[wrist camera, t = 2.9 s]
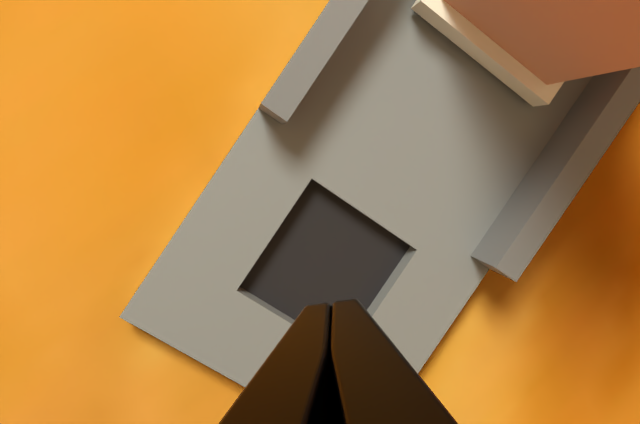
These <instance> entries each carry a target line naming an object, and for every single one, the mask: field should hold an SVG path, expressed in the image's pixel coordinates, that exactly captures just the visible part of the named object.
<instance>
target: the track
mask: <svg viewBox="0 0 640 424" xmlns="http://www.w3.org/2000/svg"><path fill="white" fill-rule="evenodd" d="M415 1H416V0H330V1H329V2H328V4H327V5H326V7H325V8H324V10H323V11H322V13H321V14H320V16H319V17H318V19H317V20H316V22H315V23H314V25H313V26H312V28H311V29H310V31H309V32H308V34H307V35H306V37H305V38H304V40H303V41H302V43H301V44H300V46H299V47H298V49H297V50H296V52H295V53H294V55H293V56H292V58H291V59H290V61H289V62H288V64H287V65H286V67H285V68H284V70H283V71H282V73H281V74H280V76H279V77H278V79H277V80H276V82H275V83H274V85H273V86H272V88H271V89H270V91H269V92H268V94H267V95H266V97H265V98H264V100H263V101H262V103H261V105H260V106H259V108H258V110H257V111H256V113H255V114H254V116H253V117H252V119H251V120H250V122H249V123H248V125H247V126H246V128H245V129H244V131H243V132H242V134H241V135H240V137H239V138H238V140H237V141H236V143H235V144H234V146H233V147H232V149H231V150H230V152H229V153H228V155H227V156H226V158H225V159H224V161H223V162H222V164H221V165H220V167H219V168H218V170H217V171H216V173H215V174H214V176H213V177H212V179H211V180H210V182H209V183H208V185H207V186H206V188H205V189H204V191H203V192H202V194H201V195H200V197H199V198H198V200H197V201H196V203H195V204H194V206H193V207H192V209H191V210H190V212H189V213H188V215H187V216H186V218H185V219H184V221H183V222H182V224H181V225H180V227H179V228H178V230H177V231H176V233H175V234H174V236H173V237H172V239H171V240H170V242H169V243H168V245H167V246H166V248H165V249H164V251H163V252H162V254H161V255H160V257H159V258H158V260H157V261H156V263H155V264H154V266H153V267H152V269H151V270H150V272H149V273H148V275H147V276H146V278H145V279H144V281H143V282H142V284H141V285H140V287H139V288H138V290H137V291H136V293H135V294H134V296H133V297H132V299H131V300H130V302H129V303H128V305H127V306H126V308H125V309H124V311H123V312H122V314H121V315H120V318H122V319H124V320H125V321H127V322H129V323H131V324H133V325H134V326H136V327H138V328H140V329H142V330H143V331H145V332H147V333H149V334H151V335H152V336H154V337H156V338H158V339H159V340H161V341H163V342H165V343H167V344H168V345H170V346H172V347H174V348H176V349H177V350H179V351H181V352H183V353H185V354H186V355H188V356H190V357H192V358H193V359H195V360H197V361H199V362H201V363H202V364H204V365H206V366H208V367H210V368H211V369H213V370H215V371H217V372H219V373H220V374H222V375H224V376H226V377H227V378H229V379H231V380H233V381H235V382H236V383H238V384H240V385H242V386H244V387H246V386H247V384H248V383H249V382H250V380H251V379H252V378H253V376H254V375H255V374H256V372H257V371H258V370H259V368H260V367H261V365H262V364H263V363H264V361H265V360H266V359H267V357H268V356H269V355H270V353H271V352H272V351H273V349H274V348H275V347H276V345H277V344H278V342H279V341H280V340H281V338H282V337H283V336H284V334H285V333H286V332H287V330H288V329H289V328H290V326H291V325H292V323H293V322H294V321H295V319H296V318H297V317H298V315H299V314H300V313H301V311H302V310H303V309H304V307H306V306H307V305H312V304H319V303H326V302H328V303H330V304H331V305H332V304H333V303H334V302H335V301H340V300H347V299H358V300H359V301H360V302H361V304H362V305H363V306H364V307H365V309H366V310H367V311H368V312H369V314H370V315H371V316H372V317H373V319H374V320H375V321H376V322H377V324H378V325H379V326H380V327H381V328H382V330H383V331H384V332H385V333H386V335H387V336H388V337H389V338H390V340H391V341H392V342H393V343H394V345H395V346H396V347H397V348H398V350H399V351H400V352H401V353H402V355H403V356H404V357H405V358H406V360H407V361H408V362H409V363H410V365H411V366H412V367H413V368H414V370H415V371H416V372H417V373H419V371H420V370H421V368H422V367H423V365H424V364H425V363H426V361H427V360H428V358H429V357H430V355H431V354H432V352H433V351H434V349H435V348H436V346H437V345H438V343H439V342H440V341H441V339H442V338H443V336H444V335H445V333H446V332H447V330H448V329H449V327H450V326H451V324H452V323H453V322H454V320H455V319H456V317H457V316H458V314H459V313H460V311H461V310H462V308H463V307H464V305H465V304H466V302H467V301H468V300H469V298H470V297H471V295H472V294H473V292H474V291H475V289H476V288H477V286H478V285H479V283H480V282H481V280H482V279H483V278H484V276H485V275H486V273H487V272H488V270H489V269H491V270H493V271H495V272H497V273H499V274H501V275H503V276H505V277H507V278H509V279H511V280H513V281H515V282H517V281H518V279H519V278H520V276H521V275H522V273H523V272H524V270H525V269H526V267H527V266H528V264H529V263H530V262H531V260H532V259H533V257H534V256H535V254H536V253H537V251H538V250H539V248H540V247H541V245H542V244H543V242H544V241H545V240H546V238H547V237H548V235H549V234H550V232H551V231H552V229H553V228H554V226H555V225H556V223H557V222H558V221H559V219H560V218H561V216H562V215H563V213H564V212H565V210H566V209H567V207H568V206H569V204H570V203H571V202H572V200H573V199H574V197H575V196H576V194H577V193H578V191H579V190H580V188H581V187H582V185H583V184H584V183H585V181H586V180H587V178H588V177H589V175H590V174H591V172H592V171H593V169H594V168H595V166H596V165H597V164H598V162H599V161H600V159H601V158H602V156H603V155H604V153H605V152H606V150H607V149H608V147H609V146H610V145H611V143H612V142H613V140H614V139H615V137H616V136H617V134H618V133H619V131H620V130H621V128H622V127H623V125H624V124H625V123H626V121H627V120H628V118H629V117H630V115H631V114H632V112H633V111H634V109H635V108H636V106H637V105H638V104H639V102H640V67H636V68H631V69H626V70H621V71H615V72H610V73H605V74H600V75H595V76H590V77H585V78H580V79H574V80H569V81H565V82H564V83H563V84H562V86H561V87H560V89H559V90H558V92H557V93H556V95H555V96H554V98H553V99H552V101H551V102H550V104H549V105H542V106H534V107H533V106H532V105H530V104H529V103H528V102H527V101H525V100H524V99H523V98H522V97H520V96H519V95H518V94H517V93H515V92H514V91H513V90H512V89H510V88H509V87H508V86H507V85H505V84H504V83H503V82H502V81H500V80H499V79H498V78H497V77H496V76H494V75H493V74H492V73H491V72H489V71H488V70H487V69H486V68H484V67H483V66H482V65H481V64H479V63H478V62H477V61H476V60H474V59H473V58H472V57H471V56H469V55H468V54H467V53H466V52H464V51H463V50H462V49H461V48H459V47H458V46H457V45H456V44H454V43H453V42H452V41H451V40H449V39H448V38H447V37H446V36H445V35H443V34H442V33H441V32H440V31H438V30H437V29H436V28H435V27H433V26H432V25H431V24H430V23H428V22H427V21H426V20H425V19H423V18H422V17H421V16H420V15H418V14H417V13H416V12H415V11H413V10H412V9H411V7H412V6H413V4H414V3H415Z"/></svg>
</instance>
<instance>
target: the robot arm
mask: <svg viewBox="0 0 640 424" xmlns="http://www.w3.org/2000/svg"><path fill="white" fill-rule="evenodd" d="M219 424H458V423H457V422H456V421H455V419H454V418H453V417H452V416H451V414H450V413H449V412H448V411H447V409H446V408H445V407H444V406H443V404H442V403H441V402H440V401H439V399H438V398H437V397H436V396H435V394H434V393H433V392H432V391H431V389H430V388H429V387H428V386H427V384H426V383H425V382H424V381H423V379H422V378H421V377H420V376H419V375H418V373H417V372H416V371H415V370H414V368H413V367H412V366H411V365H410V363H409V362H408V361H407V360H406V358H405V357H404V356H403V355H402V353H401V352H400V351H399V350H398V348H397V347H396V346H395V345H394V343H393V342H392V341H391V340H390V338H389V337H388V336H387V335H386V333H385V332H384V331H383V330H382V328H381V327H380V326H379V325H378V324H377V322H376V321H375V320H374V319H373V317H372V316H371V315H370V314H369V312H368V311H367V310H366V309H365V307H364V306H363V305H362V304H361V302H360V301H359V300H358V299H347V300H340V301H335V302H334V303H333V304H332V305H331V304H330V303H328V302H326V303H319V304H312V305H307V306H306V307H304V309H303V310H302V311H301V313H300V314H299V315H298V317H297V318H296V319H295V321H294V322H293V323H292V325H291V326H290V328H289V329H288V330H287V332H286V333H285V334H284V336H283V337H282V338H281V340H280V341H279V342H278V344H277V345H276V347H275V348H274V349H273V351H272V352H271V353H270V355H269V356H268V357H267V359H266V360H265V361H264V363H263V364H262V365H261V367H260V368H259V370H258V371H257V372H256V374H255V375H254V376H253V378H252V379H251V380H250V382H249V383H248V384H247V386H246V387H245V389H244V390H243V391H242V393H241V394H240V395H239V397H238V398H237V399H236V401H235V402H234V403H233V405H232V406H231V408H230V409H229V410H228V412H227V413H226V414H225V416H224V417H223V418H222V420H221V421H220V422H219Z"/></svg>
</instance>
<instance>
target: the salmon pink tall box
mask: <svg viewBox="0 0 640 424" xmlns="http://www.w3.org/2000/svg"><path fill="white" fill-rule="evenodd" d="M411 9H412V10H413V11H415V12H416V13H417V14H418V15H420V16H421V17H422V18H423V19H425V20H426V21H427V22H428V23H430V24H431V25H432V26H433V27H435V28H436V29H437V30H438V31H440V32H441V33H442V34H443V35H445V36H446V37H447V38H448V39H449V40H451V41H452V42H453V43H454V44H456V45H457V46H458V47H459V48H461V49H462V50H463V51H464V52H466V53H467V54H468V55H469V56H471V57H472V58H473V59H474V60H476V61H477V62H478V63H479V64H481V65H482V66H483V67H484V68H486V69H487V70H488V71H489V72H491V73H492V74H493V75H494V76H496V77H497V78H498V79H499V80H500V81H502V82H503V83H504V84H505V85H507V86H508V87H509V88H510V89H512V90H513V91H514V92H515V93H517V94H518V95H519V96H520V97H522V98H523V99H524V100H525V101H527V102H528V103H529V104H530V105H532V106H533V107H534V106H542V105H549V104H550V102H551V101H552V99H553V98H554V96H555V95H556V93H557V92H558V90H559V89H560V87H561V86H562V84H563V83H564V82H565V81H569V80H574V79H580V78H585V77H590V76H595V75H600V74H605V73H610V72H615V71H621V70H626V69H631V68H636V67H640V0H416V1H415V3H414V4H413V6H412V7H411Z"/></svg>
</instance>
